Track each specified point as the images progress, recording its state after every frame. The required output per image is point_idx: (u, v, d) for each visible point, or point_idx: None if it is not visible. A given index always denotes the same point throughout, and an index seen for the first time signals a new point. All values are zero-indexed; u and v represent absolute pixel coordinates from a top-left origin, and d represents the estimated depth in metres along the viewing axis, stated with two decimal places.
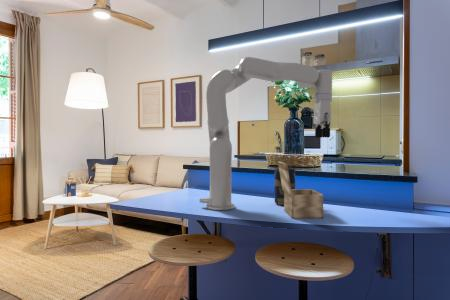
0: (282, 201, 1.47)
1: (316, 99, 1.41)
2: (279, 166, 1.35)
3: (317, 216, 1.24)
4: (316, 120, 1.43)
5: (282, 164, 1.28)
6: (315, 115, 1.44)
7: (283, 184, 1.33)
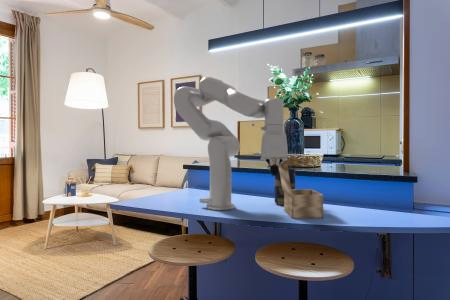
0: (282, 201, 1.47)
1: (279, 131, 1.26)
2: (279, 166, 1.35)
3: (317, 216, 1.24)
4: (276, 154, 1.27)
5: (282, 164, 1.28)
6: (271, 148, 1.27)
7: (283, 184, 1.33)
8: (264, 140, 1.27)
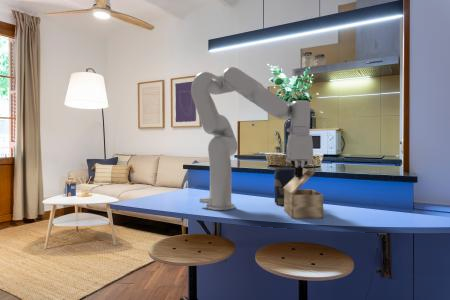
0: (282, 201, 1.47)
1: (306, 133, 1.27)
2: None
3: (317, 216, 1.24)
4: (301, 156, 1.28)
5: (308, 171, 1.28)
6: (297, 150, 1.28)
7: (289, 184, 1.33)
8: (290, 142, 1.28)
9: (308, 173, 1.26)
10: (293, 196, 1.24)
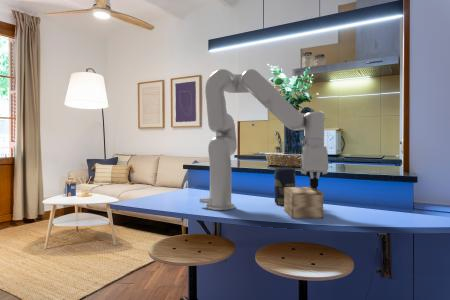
0: (282, 201, 1.47)
1: (321, 144, 1.27)
2: (309, 187, 1.36)
3: (317, 216, 1.24)
4: (317, 167, 1.28)
5: (318, 190, 1.28)
6: (312, 161, 1.28)
7: (293, 188, 1.33)
8: (305, 153, 1.28)
9: (317, 191, 1.26)
10: (293, 196, 1.24)
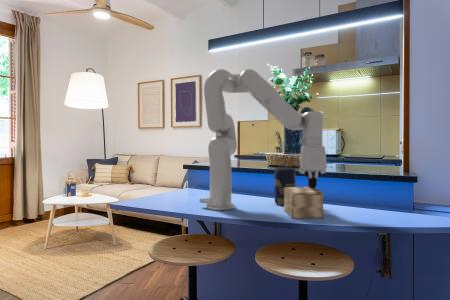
0: (282, 201, 1.47)
1: (319, 144, 1.27)
2: None
3: (317, 216, 1.24)
4: (315, 167, 1.28)
5: (318, 190, 1.28)
6: (311, 161, 1.28)
7: (293, 188, 1.33)
8: (303, 153, 1.28)
9: (317, 191, 1.26)
10: (293, 196, 1.24)
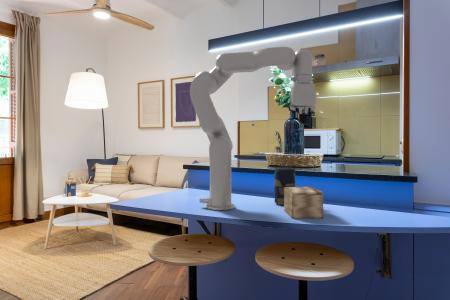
0: (282, 201, 1.47)
1: (309, 80, 1.35)
2: (309, 187, 1.36)
3: (317, 216, 1.24)
4: (305, 102, 1.36)
5: (318, 190, 1.28)
6: (301, 96, 1.36)
7: (293, 188, 1.33)
8: (294, 89, 1.36)
9: (317, 191, 1.26)
10: (293, 196, 1.24)
